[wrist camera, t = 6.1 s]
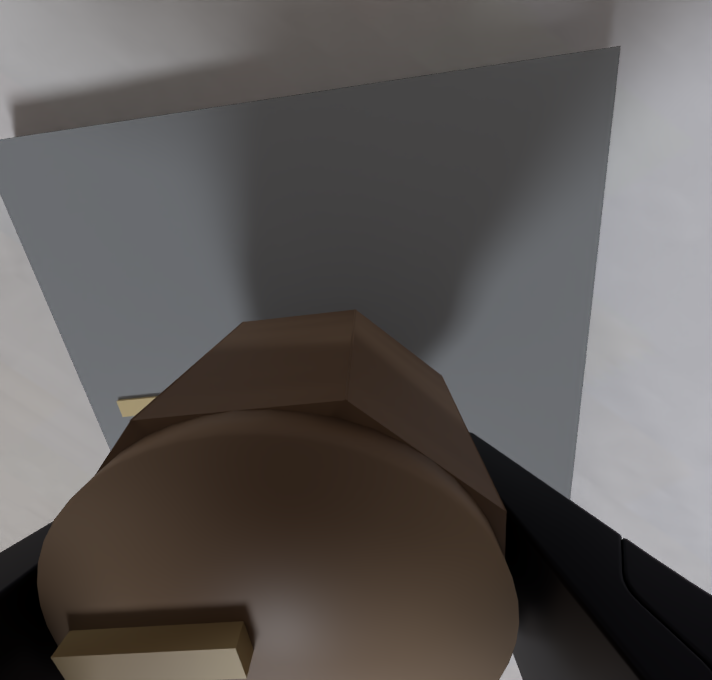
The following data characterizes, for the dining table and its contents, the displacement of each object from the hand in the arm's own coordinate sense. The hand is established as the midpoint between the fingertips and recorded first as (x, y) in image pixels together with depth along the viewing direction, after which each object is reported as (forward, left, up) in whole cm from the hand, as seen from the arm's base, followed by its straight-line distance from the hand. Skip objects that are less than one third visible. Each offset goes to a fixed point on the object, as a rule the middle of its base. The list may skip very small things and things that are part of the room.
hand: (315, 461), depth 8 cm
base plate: (0, 0, -4) cm, 5 cm away
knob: (0, 0, -1) cm, 1 cm away
